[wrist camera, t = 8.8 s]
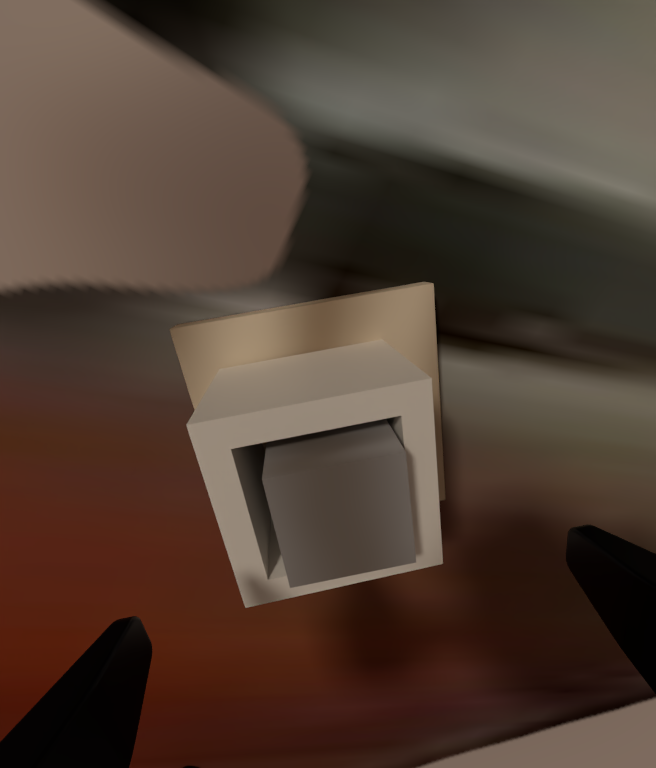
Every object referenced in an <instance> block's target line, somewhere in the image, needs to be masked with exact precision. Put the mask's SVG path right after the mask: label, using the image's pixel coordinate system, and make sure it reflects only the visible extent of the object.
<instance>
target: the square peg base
mask: <svg viewBox="0 0 656 768" xmlns="http://www.w3.org/2000/svg"><path fill="white" fill-rule="evenodd" d="M170 333H171V336H172V339H173V342H174V346H175V349H176V352H177V355H178V358H179V362H180V365H181V368H182V371H183V374H184V378H185V381H186V384H187V387H188V391H189V394H190V397H191V400H192V403H193V407H194V410H195V409H196V408H197V406H198V404H199V403H200V401H201V399H202V398H203V396H204V394H205V393H206V391H207V389H208V387H209V386H210V384H211V382H212V381H213V379H214V377H215V376H216V374H217V372H218V371H219V369H222V368H227V367H233V366H238V365H244V364H249V363H255V362H260V361H266V360H271V359H277V358H282V357H288V356H293V355H299V354H304V353H310V352H315V351H321V350H326V349H332V348H337V347H342V346H348V345H353V344H359V343H364V342H370V341H375V340H381V339H382V340H384V341H385V342H386V343H387V344H389V345H390V346H391V347H393V348H394V349H395V350H396V351H398V352H399V353H400V354H401V355H403V356H404V357H405V358H407V359H408V360H409V361H410V362H412V363H413V364H414V365H416V366H417V367H418V368H419V369H421V370H422V371H423V372H424V373H426V374H427V375H428V376H430V377H431V378H432V392H433V408H434V425H435V441H436V457H437V474H438V490H439V501H442V500H445V482H444V464H443V446H442V428H441V410H440V392H439V374H438V356H437V337H436V319H435V301H434V283H429V282H420V283H415V284H409V285H403V286H397V287H391V288H386V289H380V290H374V291H368V292H362V293H357V294H351V295H345V296H339V297H333V298H328V299H322V300H316V301H310V302H304V303H299V304H293V305H287V306H281V307H275V308H270V309H264V310H258V311H252V312H247V313H241V314H235V315H229V316H223V317H218V318H212V319H206V320H200V321H194V322H189V323H183V324H177V325H176V326H174V327H172V328H170ZM262 444H263V448H264V452H265V460H264V467H263V475H262V482H263V486H264V489H265V493H266V497H267V501H268V505H269V509H270V513H271V516H272V520H273V524H274V528H275V532H276V536H277V540H278V543H279V547H280V551H281V555H282V559H283V563H284V566H285V570H286V574H287V578H288V582H289V586H290V588H293V587H298V586H303V585H308V584H313V583H318V582H323V581H328V580H333V579H338V578H342V577H347V576H352V575H357V574H362V573H367V572H372V571H377V570H382V569H387V568H392V567H396V566H401V565H406V564H411V563H416V554H415V543H414V533H413V522H412V512H411V502H410V491H409V481H408V470H407V460H406V451H405V450H404V448H403V446H402V445H401V443H400V441H399V440H398V438H397V436H396V435H395V433H394V431H393V430H392V428H391V426H390V425H389V423H388V421H387V420H386V419H381V420H376V421H371V422H366V423H361V424H356V425H351V426H346V427H341V428H336V429H331V430H325V431H320V432H315V433H310V434H305V435H300V436H295V437H290V438H285V439H280V440H274V441H269V442H264V443H262Z"/></svg>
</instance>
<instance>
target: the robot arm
mask: <svg viewBox="0 0 656 768" xmlns="http://www.w3.org/2000/svg"><path fill="white" fill-rule="evenodd" d="M566 561H567V564H568V567H569V569H570V571H571V572H572V574H573V575H574V577H575V578H576V580H577V582H578V583H579V585H580V586H581V588H582V589H583V591H584V592H585V594H586V595H587V597H588V599H589V600H590V602H591V603H592V605H593V606H594V608H595V609H596V611H597V612H598V614H599V616H600V617H601V619H602V620H603V622H604V623H605V625H606V626H607V628H608V630H609V631H610V633H611V634H612V636H613V637H614V639H615V640H616V641H617V643H618V644H619V646H620V647H621V649H622V650H623V651H624V653H625V654H626V656H627V657H628V658H629V660H630V661H631V662H632V664H633V665H634V666H635V668H636V669H637V670H638V671H639V673H640V674H641V675H642V677H643V678H644V679H645V681H646V682H647V683H648V684H649V686H650V687H651V688H652V690H653V691H654V692H655V694H656V554H655V553H653V552H650V551H648V550H646V549H644V548H641V547H639V546H637V545H635V544H633V543H630V542H628V541H626V540H624V539H622V538H619V537H617V536H615V535H613V534H611V533H608V532H606V531H604V530H602V529H600V528H597V527H595V526H592V525H583V526H578V527H573V528H571V529H570V530H569V531H568V538H567V549H566ZM151 658H152V644H151V641H150V639H149V637H148V635H147V633H146V630H145V628H144V626H143V624H142V622H141V620H140V618H138V617H137V616H132V617H128V618H123V619H118V620H116V621H115V622H113V623H112V624H111V625H110V626H109V627H108V628H107V629H106V630H105V631H104V632H103V633H102V634H101V636H100V637H99V638H98V639H97V640H96V641H95V642H94V643H93V644H92V645H91V646H90V647H89V648H88V649H87V650H86V651H85V653H84V654H83V655H82V656H81V657H80V658H79V659H78V660H77V661H76V662H75V663H74V664H73V665H72V666H71V667H70V668H69V670H68V671H67V672H66V673H65V674H64V675H63V676H62V677H61V678H60V679H59V680H58V681H57V682H56V683H55V684H54V685H53V687H52V688H51V689H50V690H49V691H48V692H47V693H46V694H45V695H44V696H43V697H42V698H41V699H40V700H39V701H38V702H37V704H36V705H35V706H34V707H33V708H32V709H31V710H30V711H29V712H28V713H27V714H26V715H25V716H24V717H23V718H22V719H21V721H20V722H19V723H18V724H17V725H16V726H15V727H14V728H13V729H12V730H11V731H10V732H9V733H8V734H7V735H6V736H5V738H4V739H3V740H2V741H1V742H0V768H129V765H130V762H131V758H132V754H133V749H134V745H135V740H136V735H137V730H138V725H139V720H140V715H141V710H142V704H143V699H144V694H145V689H146V684H147V679H148V673H149V668H150V663H151Z"/></svg>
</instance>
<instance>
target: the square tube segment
mask: <svg viewBox="0 0 656 768" xmlns="http://www.w3.org/2000/svg"><path fill="white" fill-rule="evenodd" d="M381 419H386V420H387V421H388V423H389V425H390V426H391V428H392V430H393V431H394V433H395V435H396V436H397V438H398V440H399V441H400V443H401V445H402V446H403V448H404V450H405V451H406V460H407V470H408V481H409V491H410V502H411V512H412V522H413V533H414V543H415V554H416V563H411V564H406V565H401V566H396V567H392V568H387V569H382V570H377V571H372V572H367V573H362V574H357V575H352V576H347V577H342V578H338V579H333V580H328V581H323V582H318V583H313V584H308V585H303V586H298V587H293V588H290V586H289V582H288V578H287V574H286V570H285V566H284V563H283V559H282V555H281V551H280V547H279V543H278V540H277V536H276V532H275V528H274V524H273V520H272V516H271V513H270V509H269V505H268V501H267V497H266V493H265V489H264V486H263V482H262V475H263V467H264V460H265V452H264V448H263V444H262V443H264V442H269V441H274V440H280V439H285V438H290V437H295V436H300V435H305V434H310V433H315V432H320V431H325V430H331V429H336V428H341V427H346V426H351V425H356V424H361V423H366V422H371V421H376V420H381ZM186 426H187V429H188V432H189V435H190V438H191V441H192V444H193V447H194V450H195V453H196V457H197V460H198V463H199V466H200V469H201V472H202V475H203V478H204V481H205V484H206V488H207V491H208V494H209V497H210V500H211V503H212V506H213V509H214V512H215V515H216V518H217V522H218V525H219V528H220V531H221V534H222V537H223V540H224V543H225V546H226V549H227V552H228V556H229V559H230V562H231V565H232V568H233V571H234V574H235V577H236V580H237V583H238V587H239V590H240V593H241V596H242V599H243V602H244V605H245V608H247V607H252V606H256V605H261V604H265V603H270V602H274V601H279V600H283V599H287V598H292V597H296V596H301V595H305V594H310V593H314V592H319V591H323V590H328V589H332V588H337V587H341V586H346V585H350V584H355V583H359V582H364V581H368V580H373V579H377V578H381V577H386V576H390V575H395V574H399V573H404V572H408V571H413V570H417V569H422V568H426V567H431V566H435V565H440V564H443V556H442V539H441V523H440V507H439V490H438V474H437V457H436V441H435V425H434V408H433V392H432V378H431V377H430V376H428V375H427V374H426V373H424V372H423V371H422V370H421V369H419V368H418V367H417V366H416V365H414V364H413V363H412V362H410V361H409V360H408V359H407V358H405V357H404V356H403V355H401V354H400V353H399V352H398V351H396V350H395V349H394V348H393V347H391V346H390V345H389V344H387V343H386V342H385V341H384V340H382V339H381V340H375V341H370V342H364V343H359V344H353V345H348V346H342V347H337V348H332V349H326V350H321V351H315V352H310V353H304V354H299V355H293V356H288V357H282V358H277V359H271V360H266V361H260V362H255V363H249V364H244V365H238V366H233V367H227V368H222V369H219V371H218V372H217V374H216V376H215V377H214V379H213V381H212V382H211V384H210V386H209V387H208V389H207V391H206V393H205V394H204V396H203V398H202V399H201V401H200V403H199V404H198V406H197V408H196V409H195V411H194V413H193V415H192V416H191V418H190V420H189V421H188V423H187V425H186Z"/></svg>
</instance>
